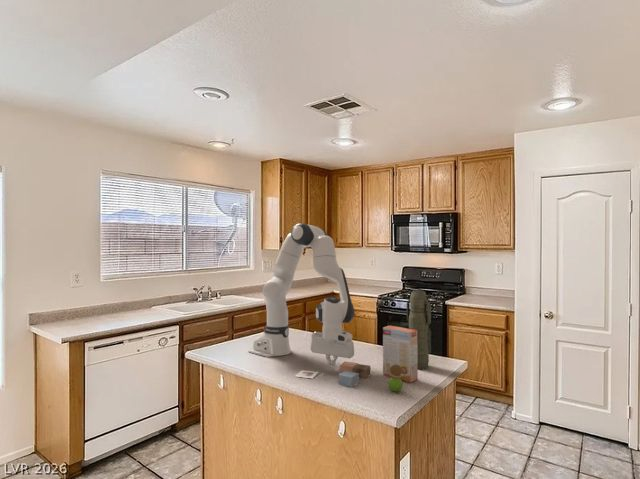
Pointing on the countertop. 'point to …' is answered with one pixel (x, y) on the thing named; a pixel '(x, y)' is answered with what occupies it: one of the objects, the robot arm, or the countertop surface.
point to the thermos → (420, 324)
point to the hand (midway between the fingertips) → (331, 364)
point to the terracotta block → (347, 366)
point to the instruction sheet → (306, 374)
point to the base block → (362, 370)
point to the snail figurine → (394, 377)
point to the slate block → (348, 378)
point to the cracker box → (400, 351)
